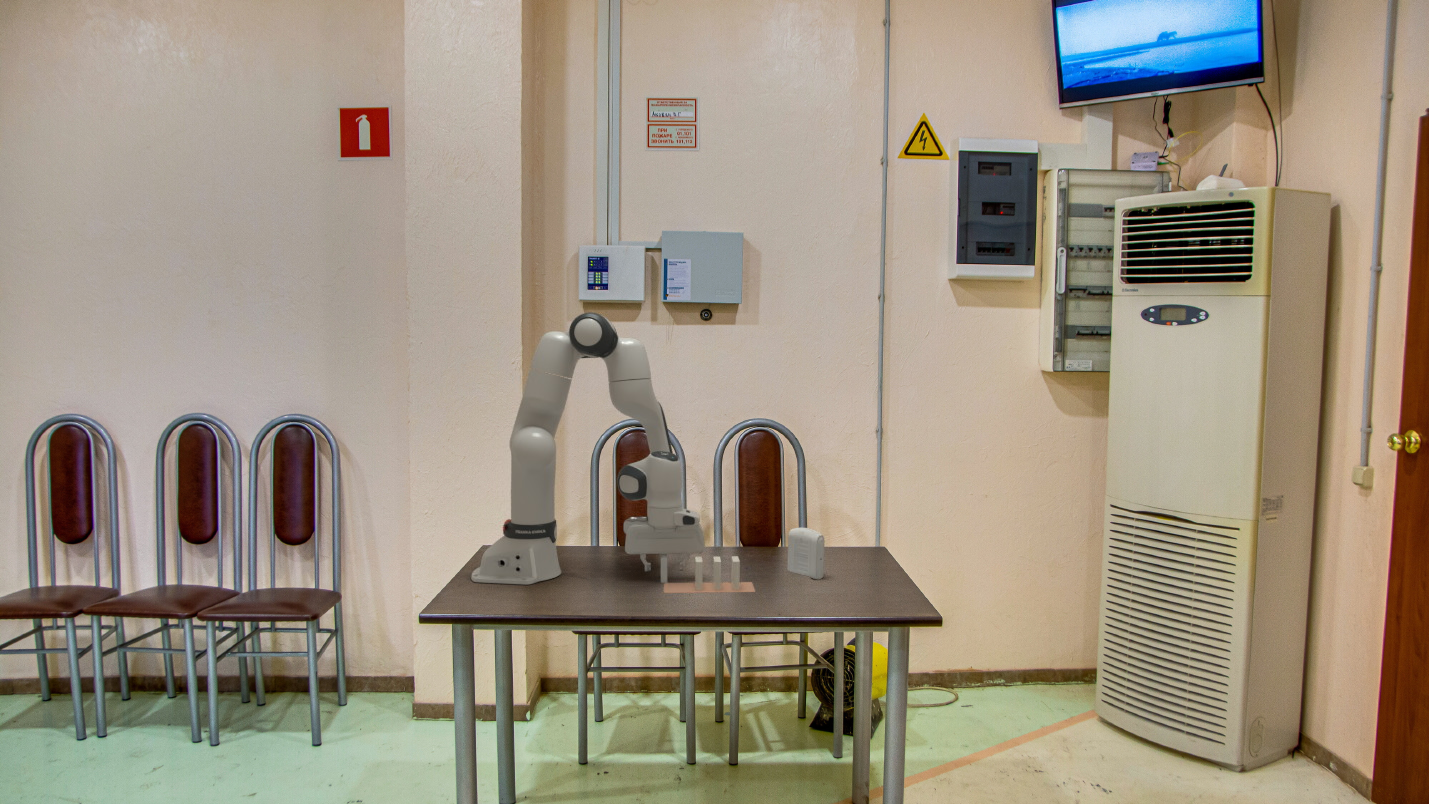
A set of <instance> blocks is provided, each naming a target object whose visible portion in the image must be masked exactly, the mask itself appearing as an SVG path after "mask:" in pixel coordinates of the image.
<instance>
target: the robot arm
mask: <svg viewBox="0 0 1429 804" xmlns="http://www.w3.org/2000/svg"><path fill="white" fill-rule="evenodd" d="M596 358H599V359H601V360H603V361H604V363H605V365H606V368H607V369H606V370H607V377H608V389H609V390H608V392H609V398H610V400H611V404H612V406H613V407H614V408H615V409H616V410H617V411H618V412H620V413H621V414H622V415H624V416H627V417H629V418H632V419H634V420H635V421H637V422H638V423H640V425H641V426H642V428H644V432H645V434H646V439H647V444H648V449H649V454H648V455H647V457H645V458H643V459H641V460H638V461H636V462H632V463H629V464H626V465H623V467H621V469H619V471H618V474H617V480H616V482H617V483H616V484H617V488H618V491H619V493H620V495H622V497H624V498H625V499H626V500H628V501H640V500H645V501H647V505H646V506H647V508H646V509H647V510H646V512H647V514H646V515H647V516H630V517H629V518H627V519H625V520H624V522H623V532H624V534H625V543H624V551H625V553H626V554H627V555H639V556H640V557H639V558H640V560H641V562H642V564H643V565H644V572H651V571H652V570H651V567H652V565H651V562H648V561H647V560H646V559H647V558H646V557H647V555H661V554H667V555H669V554H672V555H673V554H674V555H675V554H683V557H684V559H683V560H682V562H681V561H680V562H679V571H680V572H681V571H686V564H687V563H688V561H689V559H690V556H691V554H702V553H704V551H705V549H706V544H705V543H706V542H705V535H704V530H703V527H702V525H701V524H700V522H701V517H700V515H699V513H698V512H697V511H693V510H689V509H687V508H683V500H682V491H683V472H682V471H683V470H682V468H683V467H682V464H681V460H680V458H679V456H678V455H677V454H675V453H673V446H672V444H671V440H670V439H671V438H670V434H669V429H668V425H667V420H666V416H665V412H664V410H663V406H662V403H660V402H659V401H658V398H657V397H656V395H655V392H654V388H653V383H652V382H653V381H652V375H651V368H650V361H649V358H648V354H647V350H646V347H645V345H644V344H643V342H642V341H641V340H639V339H636V338H633V337H620V336H619V335H618V333H617V330H616V328H615V326H614V324H613V323H612V322H611V321H610V319H608V317H606V316H604V315H601V314H599V313H597V312H592V311H591V312H584V313H581V314H579V315H577V317H575V318H574V319H573V320H572V322H571V324H570V326H569V329H568V332H563V331H558V330H557V331H556V330H554V331H549V332H546V333H544V334H543V335H542V336H541V339H540V340H539V342H538V345H537V347H536V349H535V352H534V354H533V357H532V360H531V363H530V366H529V367H530V369H528V370H529V371H528V374H527V378H526V381H525V386H524V388H523V389H524V391H523V394H522V397H521V400H520V404H519V407H518V410H517V414H516V416H515V421H514V424H513V427H512V431H511V435H510V439H509V450H510V455H511V456H510V459H511V460H510V461H511V464H510V465H511V467H510V468H511V469H510V473H511V474H510V478H511V479H510V518H508V519H506V520H505V521H504V523H503V525H502V533H503V536H502V537H500V538H499V539H498V540H495V542H494V543H493V544H491V545H490V546H489V547H488V548H486V550H485V551H484V552H483V555H482V557H481V560H480V566H478V567H477V568H475V569H474V570H473V571H472V573H471V579H470V580H471V581H472V582H474V583H483V584H484V583H486V584H487V583H488V584H491V583H492V584H506V585H507V584H508V585H532V584H536V583H538V582H542V581H547V580H551V579H553V578H556V577H558V576H560V575H561V574H562V569H561V566H560V563H559V559H558V558H559V557H558V553H557V552H558V551H557V545H556V544H557V543H556V542H557V539H558V527H557V526H558V524H557V520H556V518H555V508H556V507H555V486H556V485H555V484H556V473H557V472H556V469H557V467H556V466H557V443H556V441H555V437H556V434H557V431H558V427H559V424H560V422H561V419H562V416H563V414H564V410H565V408H566V405H567V400H568V397H569V396H568V395H569V392H570V388H571V385H572V381H573V378H574V377H573V376H574V373H575V369H576V365H577V364H578V362H579V360H580V359H596Z"/></svg>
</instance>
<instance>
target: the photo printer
mask: <svg viewBox="0 0 1429 804" xmlns="http://www.w3.org/2000/svg"><path fill="white" fill-rule="evenodd" d="M825 542H826V540H825V536H824V534H821V533H820V532H819V531H817V530H814V529H811V528H808V527H795V528H792V529H790V530H789V532H788V536H787V571H788V572H791V573H794V574H799V575H802V576H805V577H810V578H811V579H813V580H821V579H822V578H824V574H825Z"/></svg>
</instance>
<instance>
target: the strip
mask: <svg viewBox="0 0 1429 804" xmlns="http://www.w3.org/2000/svg"><path fill="white" fill-rule="evenodd" d="M692 593H693V594H699V593H700V594H701V593H702V594H703V593H705V594H706V593H710V594H711V593H712V594H715V593H756V589H755V587H754V584H753V582H751V581H741V582H740V590H733V588H732V585H731V581H730V582H727V581H725V582H722V581H721V590H714V586H713V582H703V584H702V591H696V588H695V582H667V583H663V594H692Z"/></svg>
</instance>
